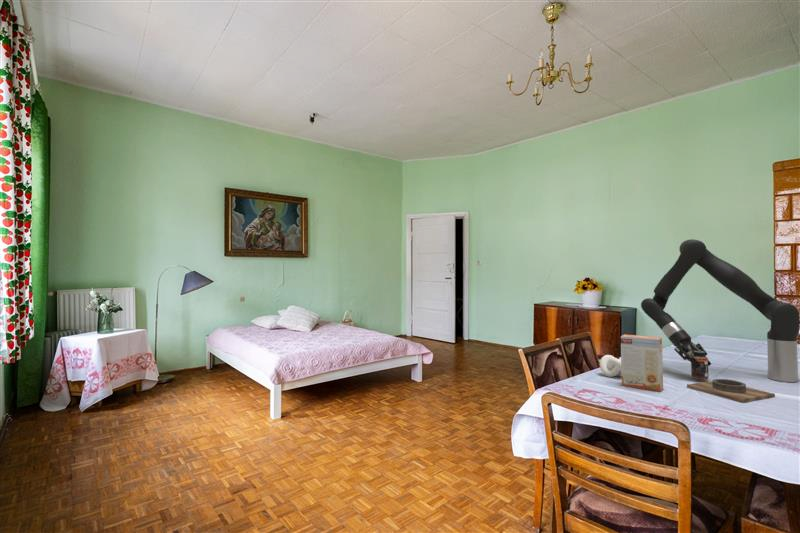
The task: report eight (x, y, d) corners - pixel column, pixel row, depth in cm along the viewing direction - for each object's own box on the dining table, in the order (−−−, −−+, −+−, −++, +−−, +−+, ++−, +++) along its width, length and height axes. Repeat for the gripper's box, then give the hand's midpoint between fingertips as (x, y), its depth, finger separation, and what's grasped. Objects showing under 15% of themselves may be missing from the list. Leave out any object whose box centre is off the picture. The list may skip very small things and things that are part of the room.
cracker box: (663, 388, 161) (662, 337, 161) (660, 392, 157) (659, 339, 157) (625, 382, 171) (624, 333, 171) (621, 385, 166) (620, 335, 166)
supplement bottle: (711, 379, 168) (711, 353, 168) (695, 379, 170) (695, 352, 170) (704, 375, 174) (703, 350, 174) (688, 375, 175) (688, 349, 175)
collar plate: (717, 382, 168) (717, 373, 168) (774, 396, 149) (774, 387, 149) (686, 387, 162) (686, 378, 162) (742, 402, 143) (742, 392, 143)
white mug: (638, 379, 175) (637, 358, 175) (613, 380, 173) (612, 360, 174) (620, 372, 186) (619, 353, 187) (596, 374, 185) (596, 354, 185)
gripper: (670, 330, 177) (698, 363, 165) (693, 328, 181) (722, 359, 170) (659, 340, 182) (686, 372, 170) (681, 337, 186) (709, 369, 175)
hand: (703, 366), depth 170 cm, fingers closed on supplement bottle, 6 cm apart
